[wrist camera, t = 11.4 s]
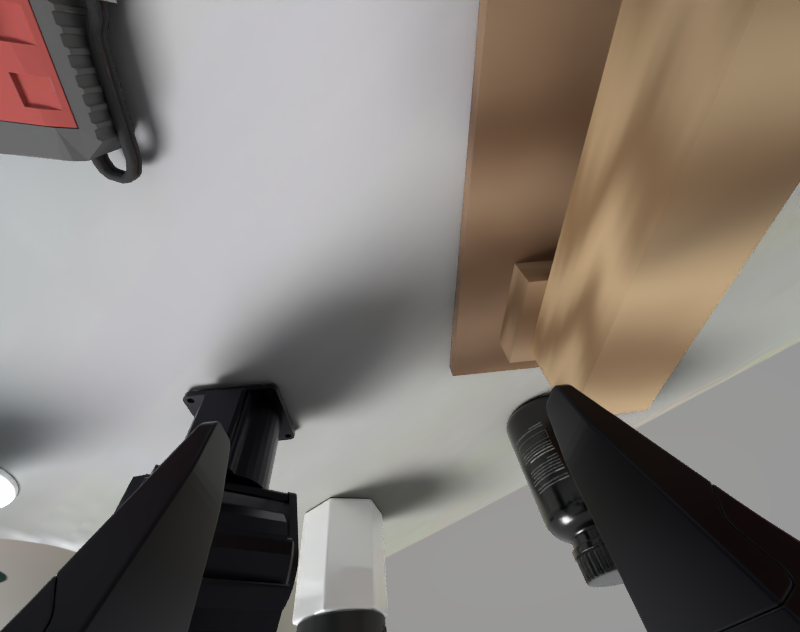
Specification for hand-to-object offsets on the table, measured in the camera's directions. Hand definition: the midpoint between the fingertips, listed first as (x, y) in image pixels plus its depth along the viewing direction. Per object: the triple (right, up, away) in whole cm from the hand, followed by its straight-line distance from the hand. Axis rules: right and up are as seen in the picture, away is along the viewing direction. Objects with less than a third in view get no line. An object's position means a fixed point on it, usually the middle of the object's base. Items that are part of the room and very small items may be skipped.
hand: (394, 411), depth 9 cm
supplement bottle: (+13, -6, +22) cm, 26 cm away
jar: (-6, -20, +30) cm, 36 cm away
